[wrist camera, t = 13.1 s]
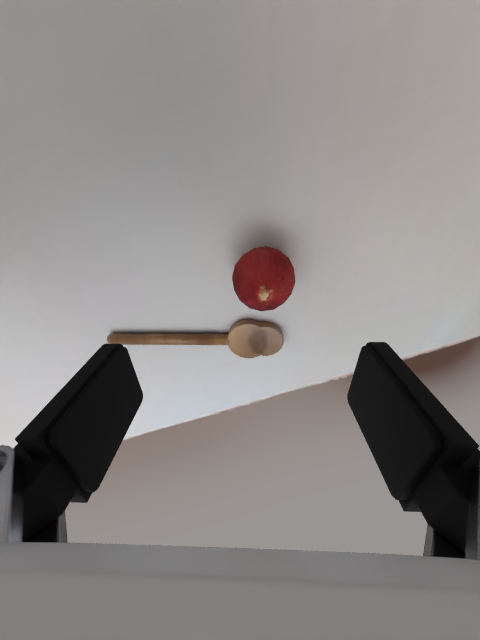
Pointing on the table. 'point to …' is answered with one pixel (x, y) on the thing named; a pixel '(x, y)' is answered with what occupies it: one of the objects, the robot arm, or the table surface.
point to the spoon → (217, 339)
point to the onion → (263, 278)
